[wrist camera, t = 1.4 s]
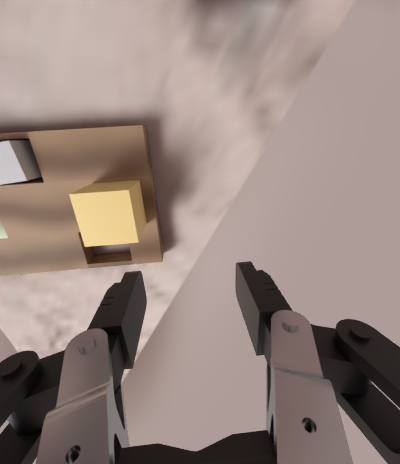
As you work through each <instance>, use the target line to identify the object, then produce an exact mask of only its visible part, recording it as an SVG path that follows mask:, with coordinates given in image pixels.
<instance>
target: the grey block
mask: <svg viewBox="0 0 400 464" xmlns="http://www.w3.org/2000/svg"><path fill="white" fill-rule="evenodd" d="M39 177H42V175H41V172H40V169H39V166H38V163H37V160H36V157H35V154H34V151H33V148H32V145H31V142H30V141H3V142H0V185H2V184H9V183H15V182H21V181H27V180H31V179H35V178H39Z"/></svg>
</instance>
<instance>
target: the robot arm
mask: <svg viewBox="0 0 400 464" xmlns="http://www.w3.org/2000/svg"><path fill="white" fill-rule="evenodd" d="M236 295H237V300H238V302H239V305H240V308H241V311H242V314H243V317H244V320H245V323H246V326H247V329H248V332H249V335H250V338H251V341H252V343H253V347H254V350H255V352H256V355H257V356H258V355H265V358H266V361H267V367H266V430H264V431H256V432H248V433H239V434H232V435H230V436H228V437H226V438H224V439H222V440H220V441H218V442H216V443H214V444H212V445H210V446H208V447H206V448H204V449H202V450H199V451H189V450H184V449H180V448H176V447H171V446H167V445H163V444H150V445H142V446H133V447H130V444H129V439H128V431H127V422H126V413H125V403H124V394H123V385H122V381H121V379H122V375H123V371H124V369H132V368H133V365H134V360H135V356H136V351H137V347H138V342H139V338H140V333H141V328H142V324H143V319H144V315H145V310H146V303H147V300H146V292H145V287H144V282H143V277H142V273H141V271H133V272H125V274H124V276H123V278H122V280H121V283H114V284H113V285H112V286H111V287H110V288H109V289H108V290H107V292H106V294H105V296H104V298H103V300H102V302H101V304H100V306H99V308H98V309H97V311H96V313H95V315H94V317H93V319H92V321H91V323H90V325H89V327H88V329H87V330H86V331H84V332H82V333H80V334H78V335H77V336H76V337H74V338H73V339H72V340H71V341H70V342H69V344H68V345H67V347H66V349H65V350H64V351H61V352H59V353H56V354H53V355H50V356H47V357H45V358H42V359H39V357H38V355H37V353H36V352H34V351H23V352H19V353H16V354H14V355H12V356H10V357H8V358H6V359H5V360H3V361H2V362H1V363H0V427H1V426H2V425H3V423H4V422H5V421H6V420H8V422H9V424H8V426H6V428H5V429H4V430H3V432H2V433H1V434H0V464H32V463H33V462H34V460H35V459H36V457H37V460H36V464H353V461H352V458H351V454H350V451H349V446H348V442H347V439H346V435H345V431H344V428H343V424H342V420H341V416H340V412H339V408H338V405H337V403H338V404H339V405H340V406H341V407H342V409H343V410H344V411H345V412H346V414H347V415H348V416H349V417H350V418H351V420H352V421H353V422H354V423H355V424H356V426H357V427H358V428H359V429H360V430H361V432H362V433H363V434H364V435H365V437H366V438H367V439H368V440H369V441H370V443H371V444H372V445H373V446H374V447H375V449H376V450H377V451H378V452H379V454H380V455H381V456H382V457H383V458H384V460H385V461H386V462H387V463H388V464H400V410H399V409H398V408H397V407H396V406H395V405H394V404H393V403H392V402H391V401H390V400H389V399H388V398H387V397H386V396H385V395H383V393H381V392H380V391H379V390H378V389H377V388H376V387H375V386H374V385H373V384H372V383H371V382H373V383H374V384H375V385H376V386H377V387H378V388H379V389H380V390H381V391H383V392H384V393H385V394H386V395H387V396H388V397H389V398H390V399H391V400H392V401H393V402H394V403H395V404H396V405H397V406H398V407H399V408H400V347H399V346H397V345H396V344H395V343H393V342H392V341H390V340H389V339H388V338H386V337H385V336H384V335H382V334H381V333H380V332H378V331H377V330H376V329H374V328H373V327H371V326H369V325H368V324H366V323H363V322H361V321H357V320H352V319H345V320H341V321H339V322H338V323H337V325H336V329H334V328H327V327H321V326H316V325H312V324H310V323H309V321H308V320H307V319H306V318H305V317H304V316H303V315H301V314H299V313H297V312H294V311H292V309H291V308H290V306H289V304H288V303H287V302H286V300H285V298H284V297H283V296H282V294H281V292H280V290H278V287H277V286H276V285H275V284H274V281H273V280H272V278H271V277H270V275H268V274H267V273H265V272H264V271H263V270H259V271H256V269H255V268H254V266H253V264H252V262H239V263H236Z"/></svg>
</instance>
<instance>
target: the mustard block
mask: <svg viewBox="0 0 400 464" xmlns="http://www.w3.org/2000/svg"><path fill="white" fill-rule="evenodd" d="M69 196H70V199H71V203H72V206H73V209H74V213H75V216H76V219H77V223H78V226H79V229H80V232H81V236H82V239H83V242H84V246H85V247H90V246H102V245H114V244H126V243H138V242H139V240H140V238H141V236H142V234H143V231H144V229H145V227H146V224H147V222H146V216H145V210H144V204H143V198H142V192H141V186H140V180H134V181H119V182H105V183H92V184H90V185H88V186H85V187H83V188H81V189H79V190H77V191H75V192H73V193H71V194H69Z"/></svg>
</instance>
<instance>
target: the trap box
mask: <svg viewBox="0 0 400 464" xmlns="http://www.w3.org/2000/svg"><path fill="white" fill-rule="evenodd" d="M22 139H30V142H31V145H32V148H33V151H34V154H35V157H36V160H37V163H38V166H39V169H40V172H41V175H42V178H43V180H35V181H21V182H15V183H9V184H2V185H0V276H3V275H15V274H26V273H38V272H50V271H61V270H73V269H84V268H96V267H107V266H119V265H130V264H142V263H153V262H162V260H163V255H164V251H163V244H162V237H161V230H160V223H159V216H158V209H157V201H156V194H155V187H154V180H153V173H152V166H151V159H150V152H149V145H148V137H147V130H146V126H144V125H134V126H117V127H100V128H83V129H66V130H49V131H32V132H15V133H0V141H5V140H22ZM134 180H140V186H141V192H142V198H143V204H144V210H145V216H146V222H147V224H146V227H145V229H144V231H143V234H142V236H141V238H140V240H139V242H138V243H129V247H130V252H127V253H116V254H104V255H94V252H93V248H92V246H90V247H85V246H84V242H83V239H82V236H81V232H80V229H79V226H78V223H77V219H76V216H75V213H74V209H73V206H72V203H71V199H70V196H69V194H71V193H73V192H75V191H77V190H79V189H81V188H83V187H85V186H88V185H90V184H92V183H105V182H119V181H134Z"/></svg>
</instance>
